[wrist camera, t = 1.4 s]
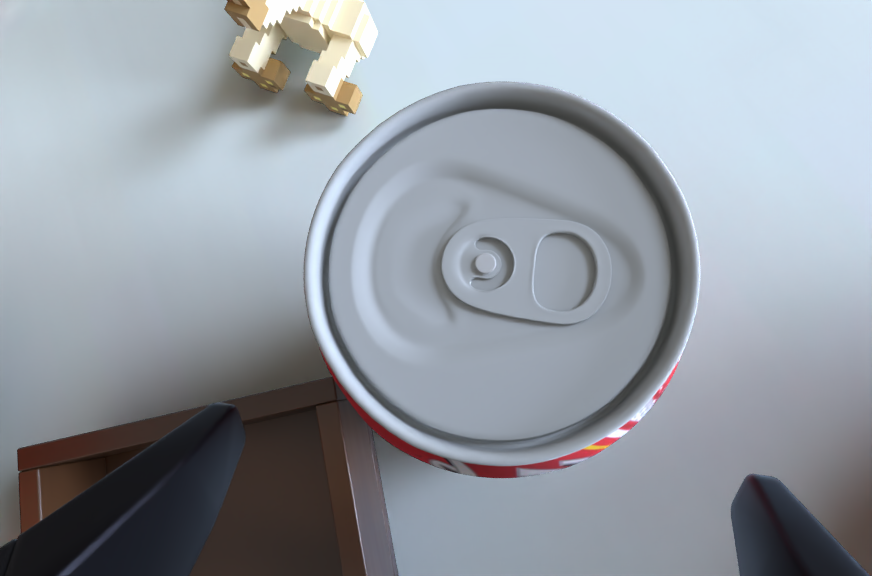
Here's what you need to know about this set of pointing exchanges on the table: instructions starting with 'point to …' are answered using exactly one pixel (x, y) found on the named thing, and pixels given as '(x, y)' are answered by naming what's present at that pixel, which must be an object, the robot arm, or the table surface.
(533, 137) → the soda can
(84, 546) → the robot arm
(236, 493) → the walnut box
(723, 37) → the table surface
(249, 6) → the cat figure
